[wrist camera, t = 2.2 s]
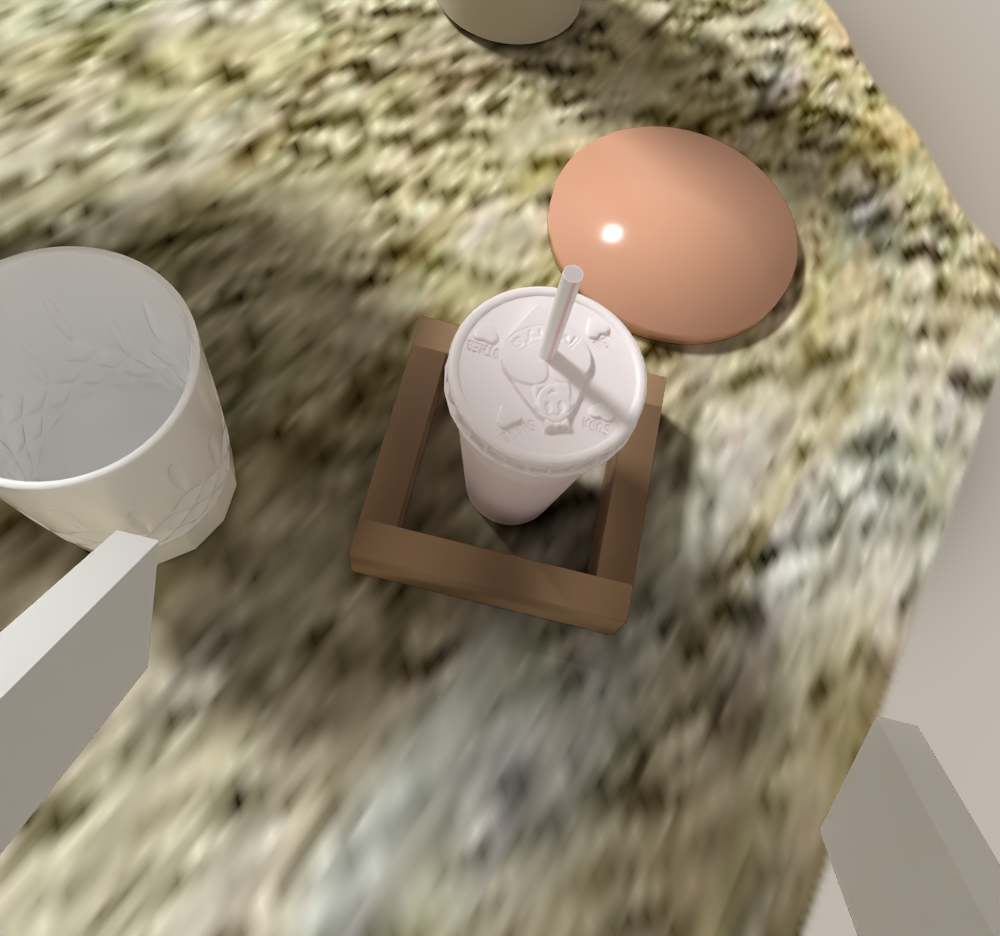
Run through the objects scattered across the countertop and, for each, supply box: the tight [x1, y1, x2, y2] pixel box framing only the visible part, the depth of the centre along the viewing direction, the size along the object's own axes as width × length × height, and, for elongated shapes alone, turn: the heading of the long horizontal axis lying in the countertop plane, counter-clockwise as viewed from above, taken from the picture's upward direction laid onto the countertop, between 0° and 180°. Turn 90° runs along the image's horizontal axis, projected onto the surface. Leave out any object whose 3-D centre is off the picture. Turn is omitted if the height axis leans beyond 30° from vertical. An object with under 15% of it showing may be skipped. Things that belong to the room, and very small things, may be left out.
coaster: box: [547, 126, 798, 344], centre depth 40 cm, size 12×12×1 cm
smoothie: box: [444, 265, 647, 525], centre depth 29 cm, size 6×6×14 cm
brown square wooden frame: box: [349, 316, 666, 635], centre depth 34 cm, size 10×10×2 cm
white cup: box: [0, 246, 237, 565], centre depth 29 cm, size 8×8×10 cm
